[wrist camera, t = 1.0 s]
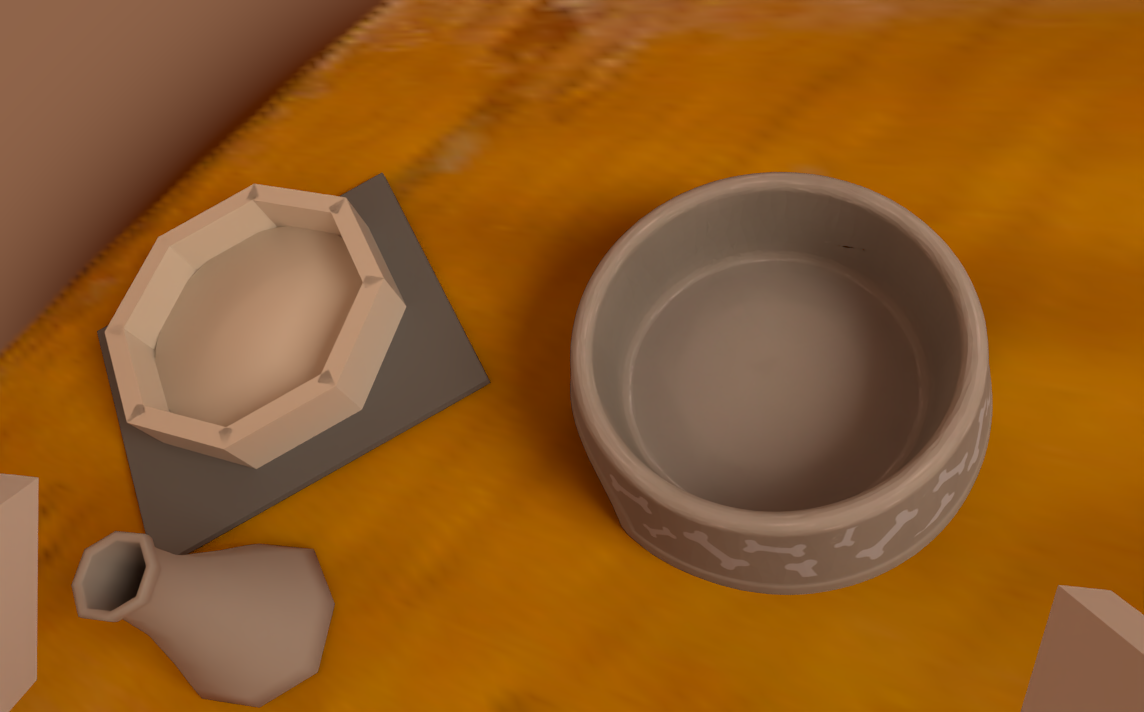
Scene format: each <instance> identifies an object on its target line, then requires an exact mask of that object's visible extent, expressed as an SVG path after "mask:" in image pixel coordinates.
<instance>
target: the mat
mask: <svg viewBox="0 0 1144 712" xmlns="http://www.w3.org/2000/svg"><path fill="white" fill-rule="evenodd" d="M339 197H346V198H347V200H348V201H349V202H350V204H351V205H352V206H353V208H354V209H355V210H356V212H357V213H358V214H359V216H360V217H361V218H362V220H363V221H364V222H365V224H366V225H367V226H368V227H369V229H370V231H371V234H372V236H373V238H374V240H375V242H376V244H377V246H378V248H379V250H380V252H381V254H382V257H383V259H384V261H385V263H386V265H387V267H388V269H389V271H390V273H391V275H392V277H393V279H394V282H395V284H396V286H397V288H398V290H399V292H400V294H401V296H402V298H403V300H404V302H405V305H406V309H405V311H404V313H403V316H402V318H401V320H400V323H399V325H398V327H397V330H396V332H395V334H394V337H393V339H392V341H391V344H390V346H389V348H388V350H387V353H386V355H385V357H384V360H383V362H382V364H381V367H380V369H379V371H378V374H377V376H376V378H375V381H374V383H373V385H372V388H371V390H370V392H369V394H368V397H367V399H366V401H365V404H364V406H363V408H362V410H360V411H359V412H357V413H355V414H353V415H351V416H350V417H348V418H346V419H344V420H343V421H341V422H339V423H337V424H336V425H334V426H332V427H330V428H328V429H327V430H325V431H323V432H321V433H320V434H318V435H316V436H314V437H312V438H311V439H309V440H307V441H305V442H304V443H302V444H300V445H298V446H297V447H295V448H293V449H291V450H289V451H288V452H286V453H284V454H282V455H281V456H279V457H277V458H275V459H273V460H272V461H270V462H268V463H266V464H265V465H263V466H261V467H259V468H257V469H255V468H251V467H247V466H244V465H240V464H237V463H233V462H230V461H226V460H223V459H219V458H215V457H212V456H208V455H205V454H201V453H198V452H194V451H191V450H187V449H183V448H180V447H176V446H173V445H169V444H166V443H163V442H161V441H159V440H157V439H156V438H154V437H152V436H150V435H148V434H147V433H145V432H143V431H141V430H139V429H138V428H136V427H134V426H132V425H130V424H129V423H127V421H126V417H125V413H124V409H123V405H122V401H121V397H120V392H119V388H118V384H117V380H116V376H115V372H114V368H113V364H112V360H111V356H110V352H109V348H108V344H107V340H106V336H105V330H106V329H107V327H108V326H106V327H104V328H102V329H101V330H99V331H97V333H98V337H99V341H100V346H101V350H102V354H103V358H104V362H105V366H106V371H107V375H108V379H109V383H110V387H111V391H112V395H113V400H114V404H115V408H116V412H117V416H118V420H119V424H120V429H121V433H122V437H123V441H124V445H125V449H126V454H127V458H128V462H129V466H130V470H131V474H132V478H133V483H134V487H135V491H136V495H137V499H138V503H139V508H140V512H141V516H142V520H143V524H144V528H145V532H146V535H149V536H150V537H151V538H152V539H153V542H154V546H155V547H156V548H158V549H161V550H163V551H166V552H169V553H172V554H175V555H187V554H188V553H190V552H192V551H194V550H195V549H197V548H199V547H201V546H203V545H204V544H206V543H208V542H210V541H211V540H213V539H215V538H217V537H218V536H220V535H222V534H224V533H226V532H227V531H229V530H231V529H233V528H234V527H236V526H238V525H240V524H241V523H243V522H245V521H247V520H249V519H250V518H252V517H254V516H256V515H257V514H259V513H261V512H263V511H264V510H266V509H268V508H270V507H272V506H273V505H275V504H277V503H279V502H280V501H282V500H284V499H286V498H287V497H289V496H291V495H293V494H295V493H296V492H298V491H300V490H302V489H303V488H305V487H307V486H309V485H310V484H312V483H314V482H316V481H318V480H319V479H321V478H323V477H325V476H326V475H328V474H330V473H332V472H333V471H335V470H337V469H339V468H341V467H342V466H344V465H346V464H348V463H349V462H351V461H353V460H355V459H356V458H358V457H360V456H362V455H364V454H365V453H367V452H369V451H371V450H372V449H374V448H376V447H378V446H379V445H381V444H383V443H385V442H387V441H388V440H390V439H392V438H394V437H395V436H397V435H399V434H401V433H402V432H404V431H406V430H408V429H410V428H411V427H413V426H415V425H417V424H418V423H420V422H422V421H424V420H425V419H427V418H429V417H431V416H433V415H434V414H436V413H438V412H440V411H441V410H443V409H445V408H447V407H448V406H450V405H452V404H454V403H456V402H457V401H459V400H461V399H463V398H464V397H466V396H468V395H470V394H471V393H473V392H475V391H477V390H479V389H480V388H482V387H484V386H486V385H487V384H489V383H491V382H490V381H489V379H488V377H487V375H486V373H485V371H484V369H483V367H482V365H481V363H480V361H479V359H478V357H477V355H476V353H475V351H474V349H473V347H472V345H471V344H470V342H469V340H468V338H467V336H466V334H465V332H464V330H463V328H462V326H461V324H460V322H459V320H458V318H457V316H456V314H455V312H454V310H453V308H452V306H451V305H450V303H449V301H448V299H447V297H446V295H445V293H444V291H443V289H442V287H441V285H440V283H439V281H438V279H437V277H436V275H435V273H434V271H433V269H432V268H431V266H430V264H429V262H428V260H427V258H426V256H425V254H424V252H423V250H422V248H421V246H420V244H419V242H418V240H417V238H416V236H415V234H414V232H413V230H412V229H411V227H410V225H409V223H408V221H407V219H406V217H405V215H404V213H403V211H402V209H401V207H400V205H399V203H398V201H397V199H396V197H395V195H394V193H393V191H392V190H391V188H390V186H389V184H388V182H387V180H386V178H385V176H384V175H383V173H380V174H379V175H377V176H375V177H373V178H371V179H370V180H368V181H366V182H364V183H362V184H361V185H359V186H357V187H355V188H354V189H352V190H350V191H348V192H346V193H345V194H343V195H341V196H339Z"/></svg>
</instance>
